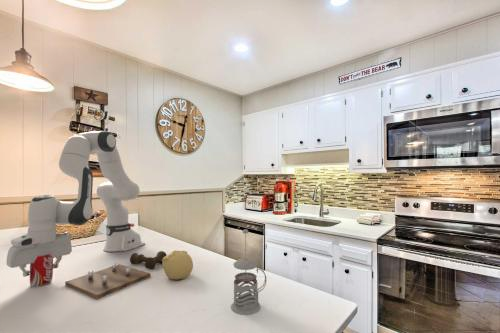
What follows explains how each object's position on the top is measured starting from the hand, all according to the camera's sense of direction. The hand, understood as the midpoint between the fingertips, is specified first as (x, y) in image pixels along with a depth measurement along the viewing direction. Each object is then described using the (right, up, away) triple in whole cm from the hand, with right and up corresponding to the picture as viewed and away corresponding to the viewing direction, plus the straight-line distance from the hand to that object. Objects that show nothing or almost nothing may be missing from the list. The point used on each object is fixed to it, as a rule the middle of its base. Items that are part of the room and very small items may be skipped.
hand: (41, 271), depth 100 cm
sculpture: (+52, -5, +6) cm, 53 cm away
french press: (+82, -4, -18) cm, 84 cm away
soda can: (0, -5, 0) cm, 5 cm away
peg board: (+26, -5, +2) cm, 26 cm away
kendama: (+35, -6, +20) cm, 41 cm away
